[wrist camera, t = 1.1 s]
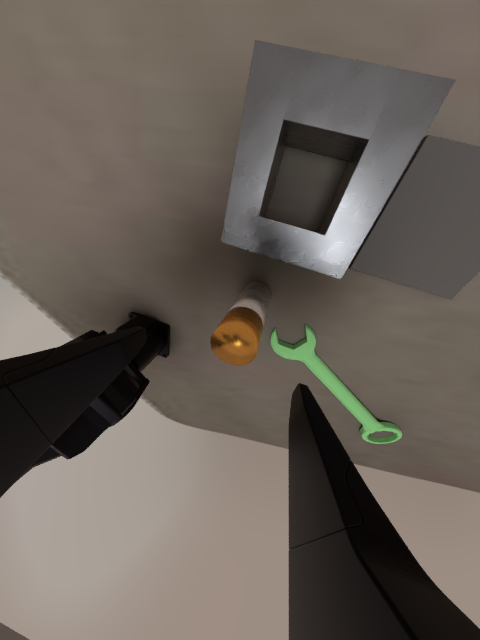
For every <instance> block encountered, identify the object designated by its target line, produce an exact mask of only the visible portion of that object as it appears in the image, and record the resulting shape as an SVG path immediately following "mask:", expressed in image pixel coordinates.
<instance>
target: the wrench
mask: <svg viewBox="0 0 480 640" xmlns="http://www.w3.org/2000/svg"><path fill="white" fill-rule="evenodd" d="M305 328H306V336H307V338H305V339H303V340H302V341H300V342H298V343H296V344H295V345H291V344H288V343H285V342H283V341H280V340H278V336H277V331H276V328H275V329H274V330H273V332H272V334H271V346H272V348H273V350H274V351H275V352H276V353H277V354H278V355H280V356H281V357H283V358H286V359H291V360H299V361H302V362H303V363H304V364H305V365H306V366H307V367H308V368H309V369H310V370H311V371H312V372H313V373H314V374H315V375H316V376H317V377H318V378H319V379H320V380H321V381H322V383H323V384H324V385H325V386H326V387H327V388H328V389H329V390H330V391H331V392H332V393H333V394H334V395H335V396H336V397H337V398H338V399H339V400H340V401H341V403H342V404H343V405H344V406H345V407H346V408H347V409H348V410H349V411H350V412H351V413H352V414H353V415H354V416H355V417H356V418H357V419H358V420H359V421H360V423H361V424H362V426H363V427H361V429H360V433H361V436H362V438H363V439H364V440H365V441H368V442H371V443H377V444H384V443H391V442H394V441H397V440H399V439H400V438H401V437H402V432H401V431H400V429H399V427H398V426H397V425H395V424H393V423H389V422H378V421H377V420H376V419H375V418H374V417H373V416H372V414H371V413H370V412H369V411H368V410H367V409H366V408H365V407H364V406H363V405H362V404H361V403H360V401H359V400H358V399H357V398H356V397H355V396H354V395H353V394H352V393H351V392H350V391H349V389H348V388H347V387H346V386H345V385H344V384H343V383H342V382H341V381H340V380H339V379H338V378H337V376H336V375H335V374H334V373H333V372H332V371H331V370H330V369H329V368H328V367H327V366H326V365H325V363H324V362H323V361H322V360H321V359H320V358H319V357H318V356H317V355H316V354H315V351H314V348H315V346H316V338H315V334H314V332H313V331H312V329H311V328H310V327H309V326H307V325H306V324H305ZM383 430H385V431H392V432H394V433H393V436H388V437H387V438H376V437H370V436H369V434H370V433H373V432H375V431H383Z"/></svg>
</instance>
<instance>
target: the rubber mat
mask: <svg viewBox="0 0 480 640" xmlns="http://www.w3.org/2000/svg"><path fill="white" fill-rule="evenodd" d="M349 268H350V269H353V270H356V271H360V272H363V273H366V274H369V275H373V276H376V277H379V278H383V279H386V280H389V281H393V282H396V283H399V284H402V285H406V286H409V287H412V288H416V289H419V290H422V291H425V292H429V293H432V294H435V295H439V296H442V297H445V298H449V299H452V298H453V297H454V296H455V295H456V294H457V293H458V292H459V291H460V290H461V289H462V288H463V287H464V286H465V285H466V284H467V283H468V282H469V281H470V280H471V279H472V278H473V277H474V276H475V275H476V274H477V273H478V272H479V271H480V147H478V146H474V145H470V144H465V143H461V142H456V141H452V140H448V139H443V138H439V137H434V136H430V135H428V136H426V137H425V138H424V139H423V141H422V143H421V144H420V146H419V148H418V149H417V151H416V153H415V155H414V156H413V158H412V160H411V162H410V163H409V165H408V167H407V168H406V170H405V172H404V174H403V175H402V177H401V179H400V180H399V182H398V184H397V186H396V187H395V189H394V191H393V193H392V194H391V196H390V198H389V199H388V201H387V203H386V205H385V206H384V208H383V210H382V211H381V213H380V215H379V217H378V218H377V220H376V222H375V224H374V225H373V227H372V229H371V230H370V232H369V234H368V236H367V237H366V239H365V241H364V242H363V244H362V246H361V248H360V249H359V251H358V253H357V255H356V256H355V258H354V260H353V261H352V263H351V265H350V267H349Z"/></svg>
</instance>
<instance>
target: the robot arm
mask: <svg viewBox="0 0 480 640" xmlns="http://www.w3.org/2000/svg"><path fill="white" fill-rule="evenodd" d="M165 327H166V328H165ZM169 333H170V327H169V326H168V325H167V324H164V323H161V322H159V321H156V320H153V319H150V318H148V317H145V316H142V315H140V314H137V313H134V312H131V313H129V321H128V322H127V323H125V324H123V325H122V326H120V327H118V328H117V329H116V331H115V332H114V333H111V334H107V333H106V332H105V331H102V332H100V333H98V332H95V331H93V330H91V331H89V332H87V333H85V334H83V335H81V336H79V337H77V338H76V339H74V340H72V341H70V342H68V343H66V344H64V345H62V346H60V347H57V348H52V349H48V350H44V351H40V352H36V353H32V354H28V355H23V356H19V357H14V358H9V359H5V360H0V497H1V496H2V495H3V494H4V493H5V492H6V491H7V490H8V489H9V488H10V487H11V486H12V485H13V484H14V483H15V482H16V481H17V480H19V479H20V478H21V477H22V476H23V475H24V474H26V473H27V472H28V471H29V470H31V469H32V468H33V467H35V466H38V465H40V464H42V463H45V462H47V461H50V460H52V459H55V458H57V457H60V456H63V457H65V458H66V459H71V458H72V457H74V456H76V455H78V454H80V453H82V452H83V451H85V450H86V449H87V448H88V447H89V446H90V445H91V444H92V443H93V442H94V441H95V440H96V439H97V438H98V437H99V436H100V435H101V434H102V433H103V431H105V430H106V429H107V428H108V427H111V426H113V425H115V424H116V423H118V422H119V421H120V420H122V419H123V418H124V417H125V416H126V415H127V414H128V413H129V412H130V411H131V409H133V407H134V406H135V404H136V402H137V401H138V399H139V398H140V396H141V395H142V393H143V392H144V390H145V388H146V387H147V385H148V384H149V382H150V381H149V380H148V379H146V378H145V377H144V375H143V374H142V373H141V371H142V370H143V369H144V368H145V367H146V366H147V365H148V364H149V363H150V362H151V361H152V360H153V359H154V358H155V357H156V356H157V355H159V356H162V357H165V358H167V357H168V356H169ZM0 640H29V639H27V638H26V637H24V636H22V635H20V634H19V633H17V632H15V631H14V630H12V629H10V628H9V627H7V626H5V625H3V624H2V623H0ZM289 640H480V629H479V628H478V627H477V626H476V625H475V624H474V623H473V622H472V621H471V620H470V619H469V618H468V617H467V616H466V615H465V614H464V613H463V612H462V611H461V610H460V609H459V608H458V607H457V606H456V605H455V604H453V602H451V600H450V599H449V598H448V597H447V596H446V595H445V594H444V593H443V592H442V591H441V590H440V589H439V588H438V587H437V586H436V585H435V583H434V582H433V581H432V580H431V579H430V577H429V576H428V575H427V574H426V572H425V571H424V570H423V569H422V567H421V566H420V565H419V563H418V562H417V560H416V559H415V557H414V556H413V555H412V553H411V552H410V550H409V549H408V547H407V546H406V544H405V543H404V541H403V540H402V538H401V537H400V536H399V534H398V533H397V531H396V529H395V528H394V526H393V525H392V523H391V522H390V521H389V519H388V517H387V516H386V514H385V513H384V512H383V510H382V509H381V507H380V505H379V504H378V502H377V501H376V500H375V498H374V496H373V495H372V493H371V492H370V490H369V489H368V487H367V486H366V484H365V482H364V481H363V479H362V477H361V476H360V474H359V472H358V471H357V469H356V467H355V466H354V464H353V462H352V461H350V457H349V456H348V454H347V452H346V451H345V449H344V447H343V445H342V444H341V442H340V440H339V439H338V437H337V435H336V434H335V432H334V430H333V428H332V427H331V425H330V423H329V422H328V420H327V418H326V417H325V415H324V413H323V412H322V410H321V408H320V406H319V405H318V403H317V401H316V400H315V398H314V396H313V395H312V393H311V391H310V390H309V388H308V386H307V385H304V384H301V383H299V384H298V385H297V387H296V388H295V390H294V392H293V394H292V400H291V409H290V418H289Z"/></svg>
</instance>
